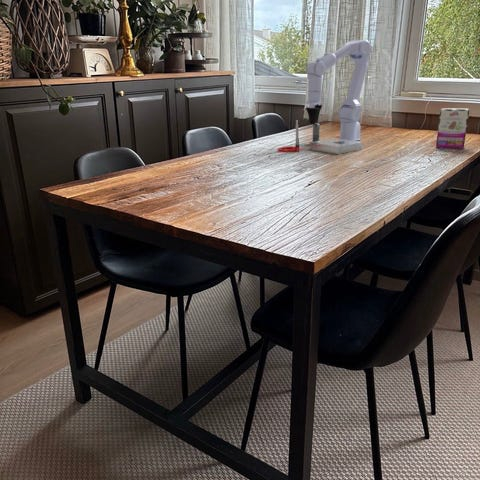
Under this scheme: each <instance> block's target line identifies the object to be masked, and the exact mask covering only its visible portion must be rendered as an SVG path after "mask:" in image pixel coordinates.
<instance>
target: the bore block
mask: <svg viewBox="0 0 480 480" xmlns="http://www.w3.org/2000/svg"><path fill="white" fill-rule="evenodd" d="M309 150H314V151H317V152H324V153H330V154H334V155H335V154H336V155H341V154H345V153H346V154H347V153H349V152H350V153H351V152H355V151H360V150H363V141H360V140H358V141H353V140H346V139H340V137H331V138H330V137H329V138H325V139H319V141H314V142H312V141H309Z"/></svg>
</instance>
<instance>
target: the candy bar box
mask: <svg viewBox="0 0 480 480" xmlns="http://www.w3.org/2000/svg"><path fill="white" fill-rule="evenodd" d="M469 116H470V109H469V108H461V107H459V108H458V107H457V108H456V107H455V108H451V107H450V108H449V107H448V108H447V107H445V108H442V107H441V108H440V111H439V120H438V127H437V135H436V141H435V148H436V149H451V150H453V149H454V150H458V149H459V150H463V149H464V148H465V141H466V135H467V128H468V123H469V122H468V121H469Z"/></svg>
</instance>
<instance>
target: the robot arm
mask: <svg viewBox="0 0 480 480" xmlns="http://www.w3.org/2000/svg"><path fill="white" fill-rule="evenodd" d="M371 52H372V45H371V43H370V41H369V40H368V39H362V40H360V39H359V40H358V39H357V40H353V39H352V40H348V41H347V42H345V44H344V45H342V46H341V47H339V48H338V49H336V50H335V51H333V53H332V52H325V53H324V54H323V56H321V57H318V58H316V60H315V61H310V62H309V63H308V64H307V66H306V68H305V73H306V75H307V79H308V83H307V85H308V86H307V90H308V91H307V92H308V93H307V100H306V101H304V102H305V104H308V106H309V107H308V106H307V107H305V110H306V112H307V115H308V121H309V125H313V124H315V123H318V121H319V117H320V112H321V110H322V108H323V104H322V89H323V88H322V85H323V83H322V81H323V76H324V74H325V72H326V71H327V70H329V69H330V68H332V67H333V66H335V64H337V61H338V60H339V59H340V60H341V59H342V58H343V57H345V56H349V58H350V59H352V60H353V61H354V63H355V67H354V71H353V73H352V78H351V82H350V85H349V88H348V89H349V90H348V93H347V97H346V99H344V100H343V101H342V103H341V105H340V107H339V108H338V111H337V117H338V119H339V122H340V128H339V129H340V131H339V139H346V140H353V141H360V140H362V138H361V123H360V122H359V120H360V118H361V115H362V105H361V103H360V102H359V100H360V96H361V92H362V89H363V86H364V82H365V78H366V74H367V71H368V69H369V64H370V56H371Z"/></svg>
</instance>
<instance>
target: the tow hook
mask: <svg viewBox="0 0 480 480" xmlns="http://www.w3.org/2000/svg"><path fill="white" fill-rule="evenodd" d="M298 121H299V120H298V119H296V120H295V146H291V145H290V146H281V147H278V148H277V151H278V152H281V153H289V152H300V138H299V137H300V136H299V122H298Z"/></svg>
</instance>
